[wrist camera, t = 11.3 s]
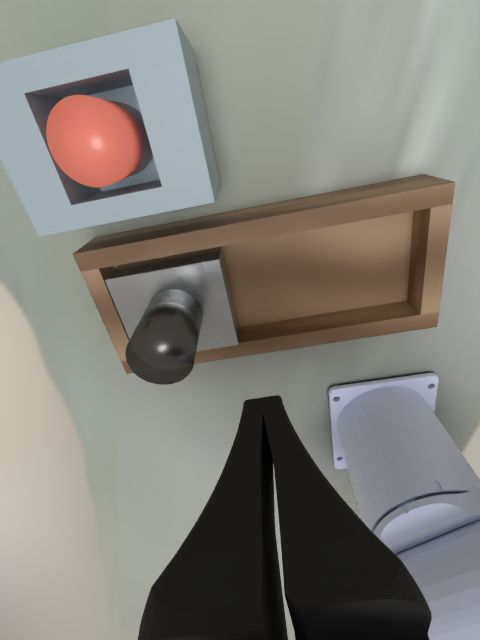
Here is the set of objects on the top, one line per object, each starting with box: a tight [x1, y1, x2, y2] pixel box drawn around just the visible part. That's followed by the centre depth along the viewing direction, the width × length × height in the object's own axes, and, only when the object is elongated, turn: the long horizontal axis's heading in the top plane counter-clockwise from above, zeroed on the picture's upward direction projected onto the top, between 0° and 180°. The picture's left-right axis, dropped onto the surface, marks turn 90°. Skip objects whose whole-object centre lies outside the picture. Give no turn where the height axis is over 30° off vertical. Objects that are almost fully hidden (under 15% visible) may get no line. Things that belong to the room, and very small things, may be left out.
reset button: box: [46, 95, 153, 187], centre depth 14 cm, size 3×3×4 cm
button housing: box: [0, 18, 221, 237], centre depth 15 cm, size 6×8×5 cm
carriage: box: [105, 246, 239, 384], centre depth 17 cm, size 5×6×6 cm
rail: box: [73, 174, 455, 374], centre depth 20 cm, size 8×19×3 cm, turn 101°
